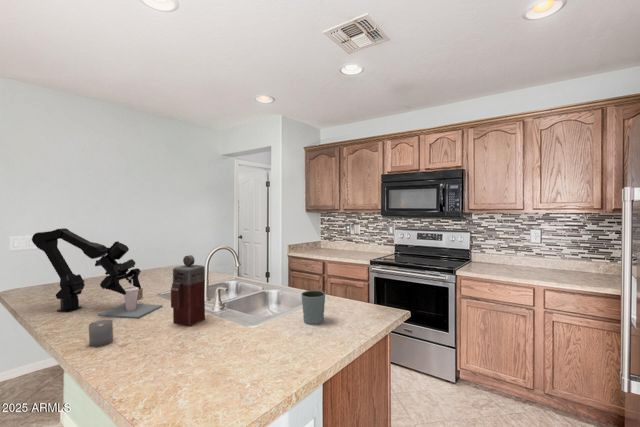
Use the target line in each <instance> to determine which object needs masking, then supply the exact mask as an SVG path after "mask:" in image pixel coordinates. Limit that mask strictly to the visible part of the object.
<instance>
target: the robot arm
mask: <svg viewBox="0 0 640 427" xmlns="http://www.w3.org/2000/svg"><path fill="white" fill-rule="evenodd" d="M59 239H60V240H62V241H64V242H67V243H68V244H70V245H71V246H74V247H75V248H78V249H80V250H81V251H82V253H83V254H84V255H85V256H86V257H88V258H89V259H91V260H93V259H94V260H95V259H98V258H99V259H98V260H95V264H94V267H101V268H102V269H104V271H105V273H104V275H106V276H105V277H104V279H103V280H101V282H100V283H99V285H100V286H99V287H100V288H102V290H104V289H105V290H110V291H113V292H115V293H118V294H121V295H123V296H124V295H125V294H126V292H125V290H124V289H125V288H124V287H123V286H122V285H121V283H120V281H122V280H126V281H128V283H129V284H130V285H131V279H133V287H138V288H139V289H141V288H142V287H141V284H140V281H139V275H140V273H141V272H142V271H141V269H139V268H137V267H136V268H135V265H136V261H135V260H134V259H133V258H132V259H129V260H126V261H124V262H123V263H121V262H120V263H118V261H119V260H121V259H122V258H123V257H124V256H125V255H126V254H127V253H128V252H129V250H130V249H129V247H128V245H125V244H124V243H122V242H120V241H114V242H113V243H112V245H111V246H110V247H107V246H106V245H104V244H101V243H99V242H93V241H89V240H88V239H86V238H84V237H82V236H80V235H78V234H77V233H75V232H72V231H70V230H69V229H68V228H66V227H65V228H64V227H63V228H62V227H61V228H56V229H53V230H50V231H41V232H39V231H38V232H35V233H34V234H33V235H32V238H31V242H32V243H33V245H34V246H35V247H36V248H37V249H39V250H41V251H43V253H44V254H45V255H46V257H47V259H48V261H49V262H50V264H51V265H52V267H53V269H54V270H55V272H56V274H57V275H58V277H59V287H60V290H59V291H58V292H56V294H55V297H56V299H57V300H59V301H60V308H59V309H57V310H56V312H63V313H64V312H65V313H66V312H68V313H70V312H73V311H75V310H78V309H81V308H82V306H81V305H79V304H80V301H79V300H80V299H79V295H81V294H82V292H83V290H84V288H85V285H86V284H85V280H84V279H83V277H82V275H81V274H75V273H73V271H72V270H71V268H70V266H69V264H68V263H67V261H66V260H65V258H64V255H63V254H62V253H61V251H60V249H59V248H58V243H59V241H58V240H59ZM117 260H118V261H117Z"/></svg>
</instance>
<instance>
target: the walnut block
mask: <svg viewBox="0 0 640 427" xmlns="http://www.w3.org/2000/svg"><path fill="white" fill-rule="evenodd" d="M143 290H144V289H143V287H141V289H139V290H138V295H137V301H140V300H141V299H142V298H143V294H144V293H143V292H144V291H143Z"/></svg>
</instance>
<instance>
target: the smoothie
mask: <svg viewBox="0 0 640 427" xmlns="http://www.w3.org/2000/svg"><path fill="white" fill-rule="evenodd" d="M123 289H124V290H125V292H126V294H125V295H123V296H124V303H125V304H126V310H127V311H132V310H135V309H136V304H138V303H137V301H138V300H137V295H138V290H139V288H138V287H135V286H133V279H131V284H130V287H126V288H123Z"/></svg>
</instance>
